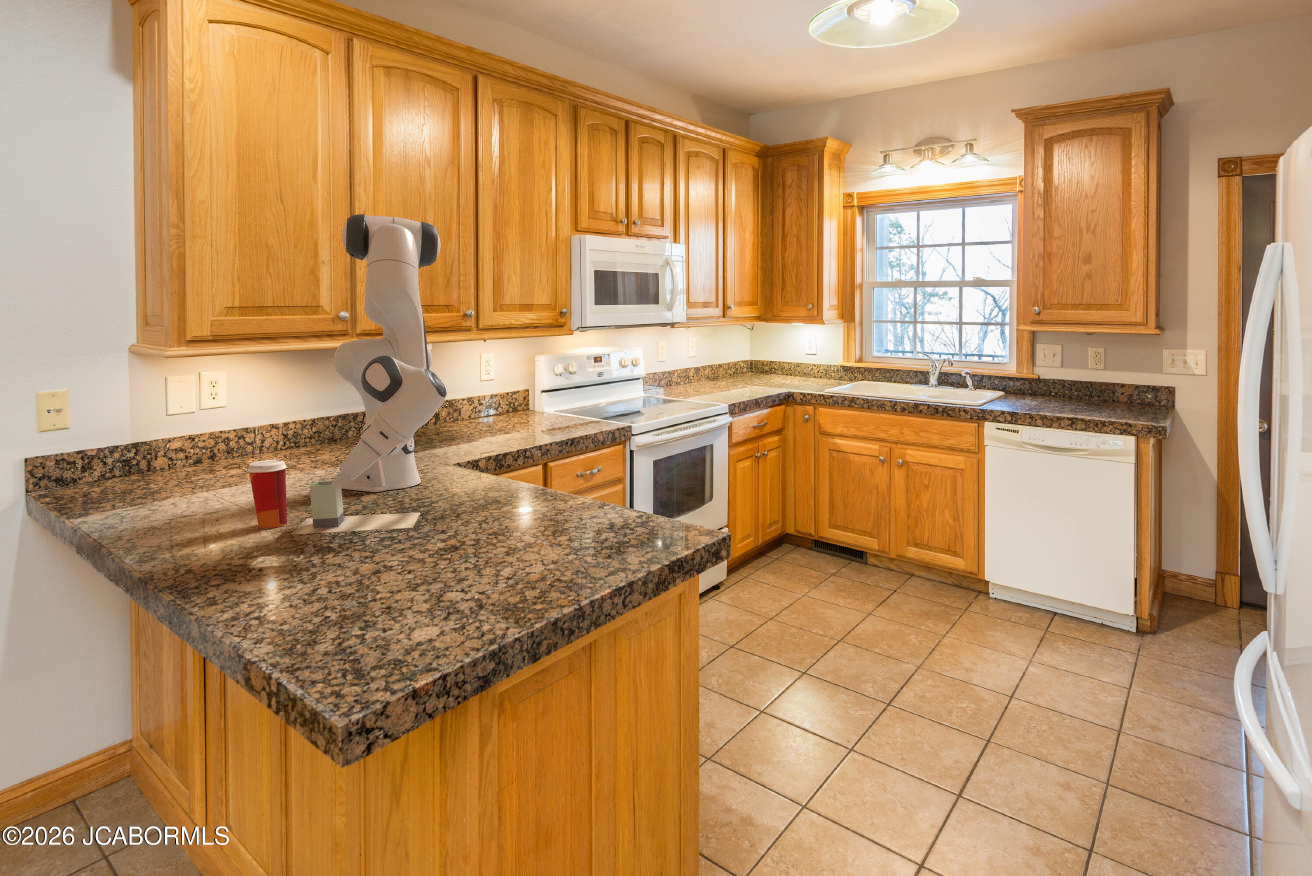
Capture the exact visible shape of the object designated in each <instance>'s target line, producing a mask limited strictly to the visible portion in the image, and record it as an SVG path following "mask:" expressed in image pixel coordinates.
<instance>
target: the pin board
mask: <svg viewBox="0 0 1312 876" xmlns="http://www.w3.org/2000/svg"><path fill="white" fill-rule="evenodd" d="M420 514H421V512H405V513H385V514H383V513H382V514H366V515H363V514H362V515H347V516H345V515H344V521H343V522H342V524H341V525H340V526H339V527H330V528H313V519H312V517H311V518H308V517H307V518H306V519H304V520H303V521H302V522H301V524H299V526H298V527H297V528H295V530H293V531H292V532H291V533H290V535H305V534H324V533H325V534H326V533H344V532H345V533H346V532H360V531H361V532H362V531H363V532H365V531H377V530H378V531H379V530H396V529H397V530H398V529H412V528H414V526H415V524H416V522H417V520H418V519H419V516H420Z"/></svg>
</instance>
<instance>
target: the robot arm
mask: <svg viewBox="0 0 1312 876" xmlns="http://www.w3.org/2000/svg"><path fill="white" fill-rule="evenodd" d="M341 238H342V244H343V247H344V248H345V252H346V253H347V254H348V255H349V257H351V258H353V259H356V260H360V261H364V260H366V274H365V288H364V289H365V290H364V308H363V309H364V312H365V315H366V318H368V319H369V321H371V322H372V323H374V324H376V325H377V326H380V327H381V328H382V337H380V338H359V339H358V338H357V339H355V340H350V341H347V342H343V343H341V344H339V346H338V347H337V349H336V350H335V352H334V357H333V366H334V369H335V370H336V372H337V374H338V376H339V377H341V378H342V379H343V380H345V381H346V382H348V383H349V384H350V385H351V386H352V388H354V389H355V390H356V391H357V393H358V395H359V396H360V398H361V400H362V403H363V406H364V411H365V412H364V413H365V419H366V422H365V424H364V425H363V427H362V429H363V430H362V433H361V435H360V436H359V437H358V439H359V440H358V443H357V444H356V445H355V446H354V448H353V449H352V450H351V451H350V453H349V454H348V455H347V457H346V458H345V459H344V460H343V462H341V463H342V464H340V466H339V469H338V470H339V471H340V472H339V474H338V475H337V476H336V478H335V479H334V481H333V482H332V483H331V485H332V486H333V487H334V488H335V489H339V488H340V487H341V490H343V489H344V490H352V491H359V492H361V491H363V492H371V493H378V492H379V493H380V492H385V491H389V490H397V489H398V490H399V489H406V488H411V487H414V486H417V485H419V484H421V482H422V480H421V477H420V474H419V471H418V467H417V463H416V459H415V453H414V452H415V437H414V435H415V433H416V432H417V430H419V428H421V427H422V426H425V425H426V424H427V423H428V422H429V421H430V420H431V419H432V417H433V416H434V415H435V414H436V413H437V411H439V409H440V408H441V407H442V405H443V404H444V402H445V401H446V398H447V393H448V392H447V389H446V386H445V384H444V383H443V381H442V380H441V379H440V378H439V376H438V375H437V374H436V373H435V372H433V371H432V370H430V369H431V366H432V363H433V354H432V350H431V348H430V346H429V345H428V340H427V330H426V323H425V317H424V312H423V308H422V307H423V306H422V303H421V297H420V296H421V295H420V287H419V269H421V268H422V267H429V266H431V265H433V264H434V263H436V262H437V259H438V257H439V255H440V252H441V247H442V246H441V242H442V241H441V239H440V235H439V232H438V229H437V228H436V226H435V225H433V224H432V223H429V222H426V221H420V222H419V221H416V220H412V219H408V218H403V217H400V216H399V217H397V216H393V217H392V216H384V215H383V216H381V215H365V214H361V213H359V214H352V215H350V216H349V217H348V218H347V219H346V222H345V224H344V225H343V227H342V232H341Z"/></svg>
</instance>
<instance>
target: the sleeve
mask: <svg viewBox="0 0 1312 876" xmlns="http://www.w3.org/2000/svg"><path fill="white" fill-rule="evenodd" d="M334 480H335V479H334ZM334 480H315V481H314V482H313V483H312V484H311V485H309V496H310V505H311V508H310V509H311V516H312V517H311V518H312V519H313V528H330V527H339V526H340V525H341V524H342V522H343V521H344V516H345V515H344V505H343V504H344V503H343V494H342V493H343V491H342V490H343V489H341V487H340V488H339V489H335V488H334V487H333V486H332V485H331V483H332V482H333V481H334Z"/></svg>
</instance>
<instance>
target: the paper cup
mask: <svg viewBox="0 0 1312 876" xmlns="http://www.w3.org/2000/svg"><path fill="white" fill-rule="evenodd" d="M287 467H288V466H287V465H286V463H285V460H280V459H266V460H258V461H253V462H251V463H249V466H248V468H247V473H249V479H250V486H251V490H252V497H253V504H254V508H255V516H256V520H257V521H256V522H257V526H258V528H259V527H260V529H263V530H264V529H265V528H269V529H276V528H275V527H277V528H280V527H284V526H285V524H286V525H287V524H288V516H287V512H288V509H287V506H288V503H287V478H286V477H287V476H286V475H287V474H286V468H287ZM283 525H284V526H283Z"/></svg>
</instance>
